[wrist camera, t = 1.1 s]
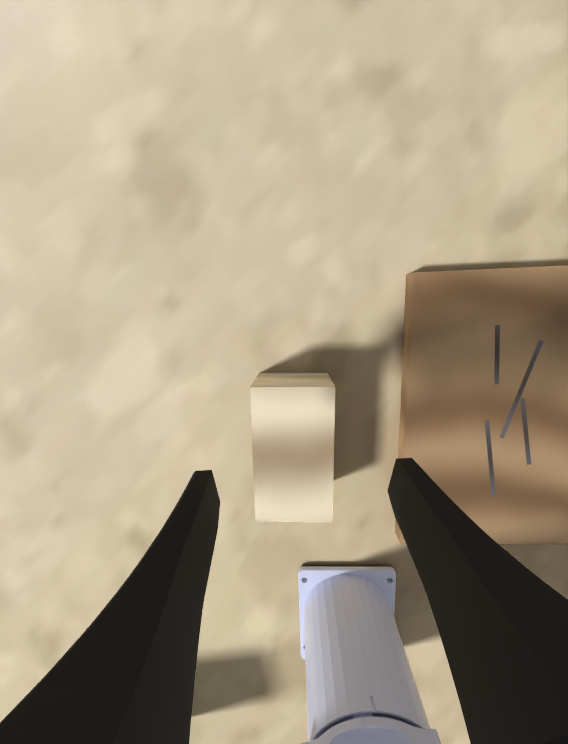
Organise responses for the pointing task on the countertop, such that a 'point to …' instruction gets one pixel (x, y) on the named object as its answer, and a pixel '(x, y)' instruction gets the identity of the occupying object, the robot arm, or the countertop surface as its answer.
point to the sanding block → (293, 446)
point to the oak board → (490, 396)
